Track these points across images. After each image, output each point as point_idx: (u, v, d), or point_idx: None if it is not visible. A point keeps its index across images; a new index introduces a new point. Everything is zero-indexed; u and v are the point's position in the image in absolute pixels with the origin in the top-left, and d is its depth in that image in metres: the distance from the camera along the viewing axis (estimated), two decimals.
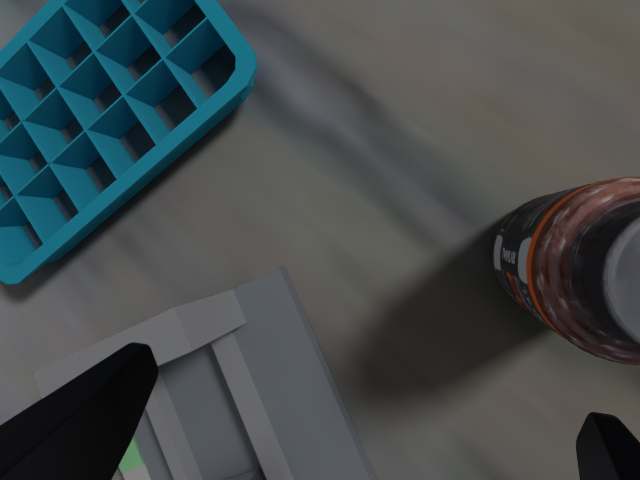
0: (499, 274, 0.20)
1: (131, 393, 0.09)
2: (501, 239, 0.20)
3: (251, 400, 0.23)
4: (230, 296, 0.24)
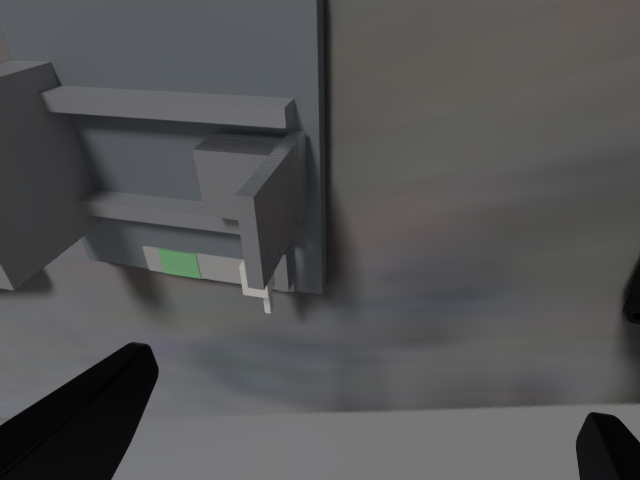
0: None
1: (131, 393, 0.09)
2: None
3: (120, 95, 0.18)
4: (8, 63, 0.19)
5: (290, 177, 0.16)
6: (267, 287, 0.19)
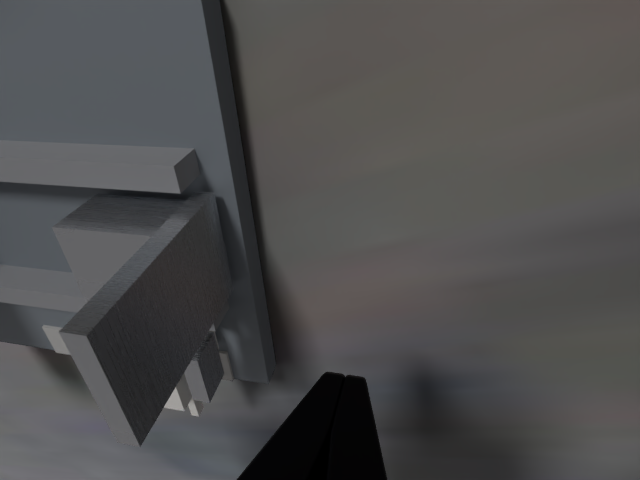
0: None
1: None
2: None
3: None
4: None
5: (186, 265, 0.11)
6: (181, 398, 0.14)
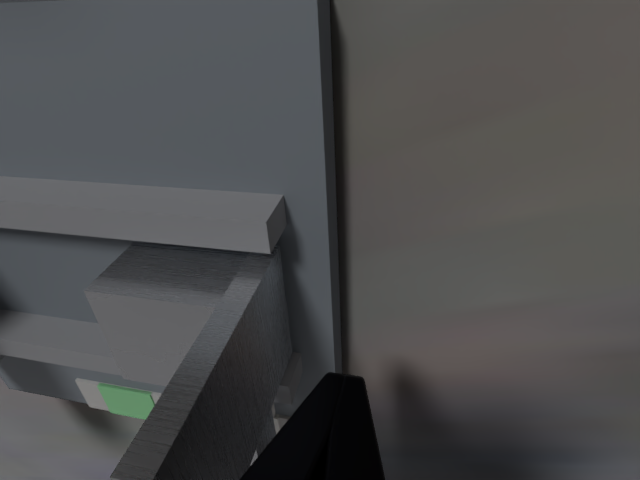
0: None
1: None
2: None
3: None
4: None
5: (253, 343, 0.09)
6: None
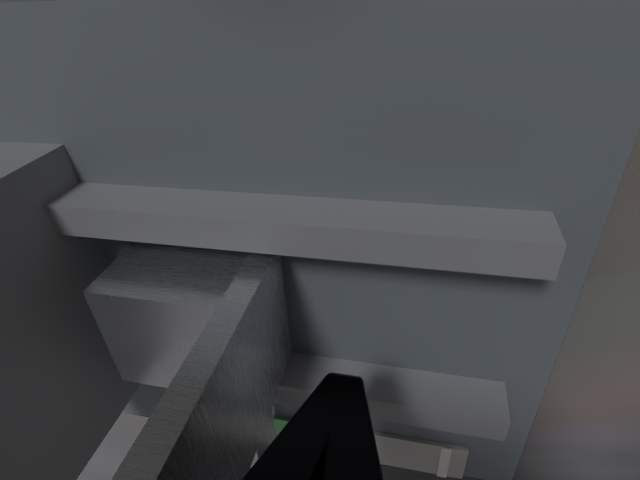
0: None
1: None
2: None
3: (202, 210, 0.10)
4: None
5: (253, 344, 0.09)
6: None
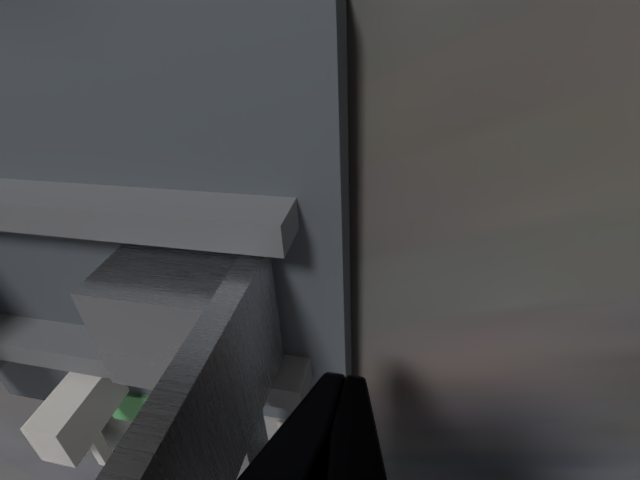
0: None
1: None
2: None
3: None
4: None
5: (242, 347, 0.09)
6: (70, 454, 0.13)
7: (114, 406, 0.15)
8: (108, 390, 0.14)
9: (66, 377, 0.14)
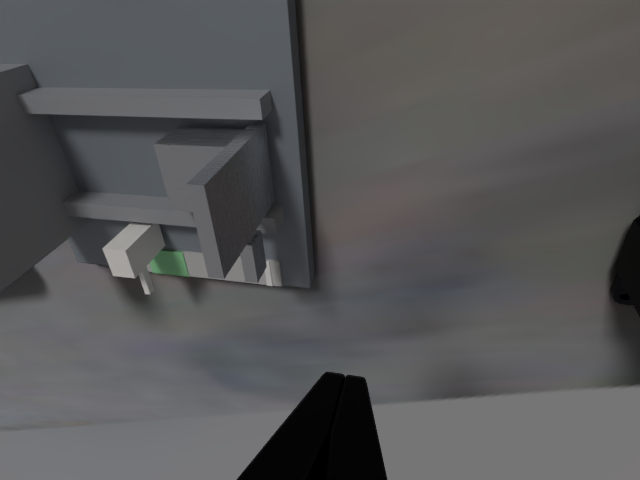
0: None
1: None
2: None
3: (98, 94, 0.18)
4: None
5: (250, 167, 0.17)
6: (132, 267, 0.20)
7: (156, 251, 0.22)
8: (153, 237, 0.22)
9: (127, 227, 0.22)
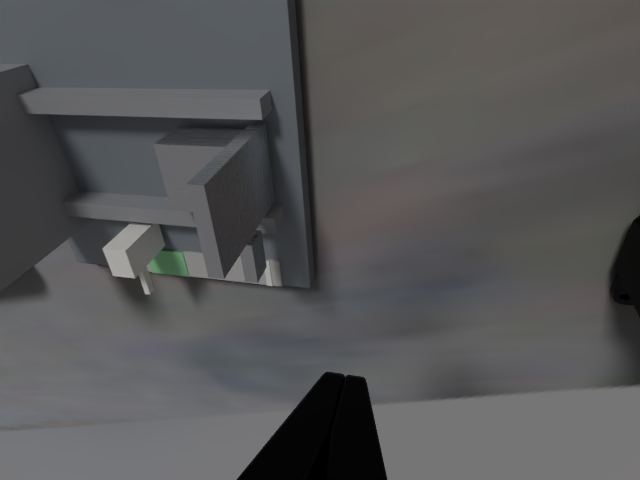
0: None
1: None
2: None
3: (98, 94, 0.18)
4: None
5: (249, 167, 0.17)
6: (132, 267, 0.20)
7: (156, 251, 0.22)
8: (153, 237, 0.22)
9: (127, 227, 0.22)
